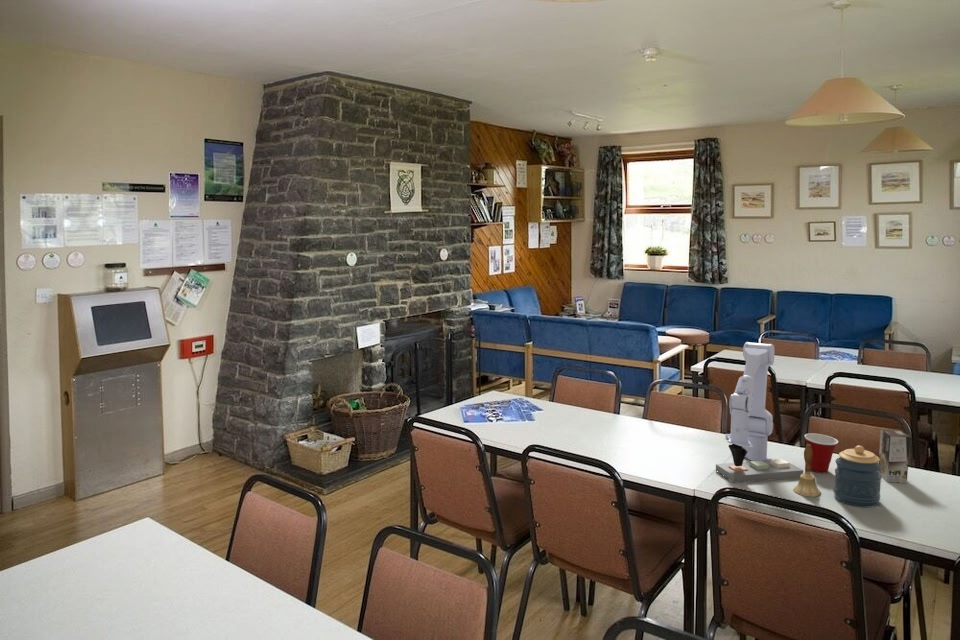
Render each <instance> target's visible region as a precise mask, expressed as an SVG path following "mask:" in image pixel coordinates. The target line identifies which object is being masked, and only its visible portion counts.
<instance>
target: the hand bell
mask: <svg viewBox="0 0 960 640" xmlns="http://www.w3.org/2000/svg"><path fill="white" fill-rule="evenodd" d="M812 456H813V452H812V448H811V445H810V444H805V448H804V451H803V459H804V462H805V465H804V472H803V474H801V475H800V478H799V480H798V483H797V484H796V485H795V486H794V487H793V489H792V490H793V492H794V493H795V494H797V495H799V496H804V497H819V496H821V495H822V492H821V490H820V489H819V488H818V486H817V483H816V477H815V475H813V474H811V473H812V472H811V471H812V470H810V469H811V466H810V464H811V461H812Z"/></svg>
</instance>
